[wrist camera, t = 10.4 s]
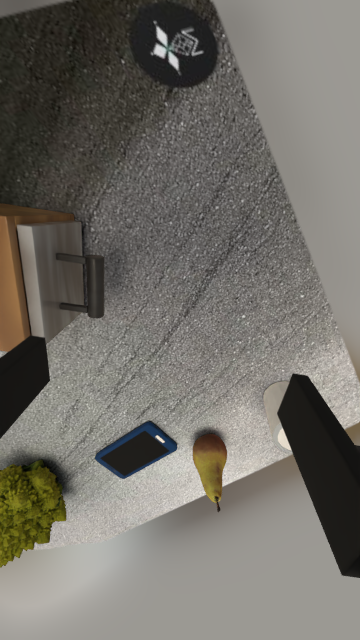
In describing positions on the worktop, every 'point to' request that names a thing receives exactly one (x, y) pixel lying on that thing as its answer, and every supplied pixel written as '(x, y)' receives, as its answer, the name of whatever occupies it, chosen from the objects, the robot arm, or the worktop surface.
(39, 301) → the drawer
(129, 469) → the cell phone
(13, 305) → the cabinet
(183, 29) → the worktop surface
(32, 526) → the vegetable
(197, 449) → the fruit
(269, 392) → the white cup
